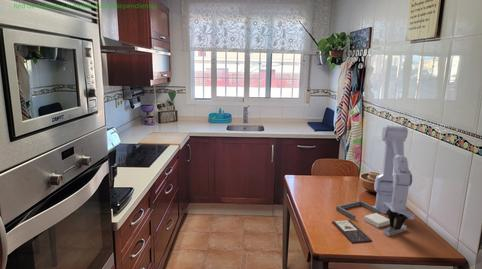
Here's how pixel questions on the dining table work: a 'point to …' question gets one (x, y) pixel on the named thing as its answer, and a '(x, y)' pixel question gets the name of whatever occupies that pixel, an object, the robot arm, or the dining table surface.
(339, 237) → the dining table surface
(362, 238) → the chocolate bar
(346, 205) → the bay
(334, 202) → the dining table surface
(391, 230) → the scraper
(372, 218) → the tile
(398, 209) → the robot arm
